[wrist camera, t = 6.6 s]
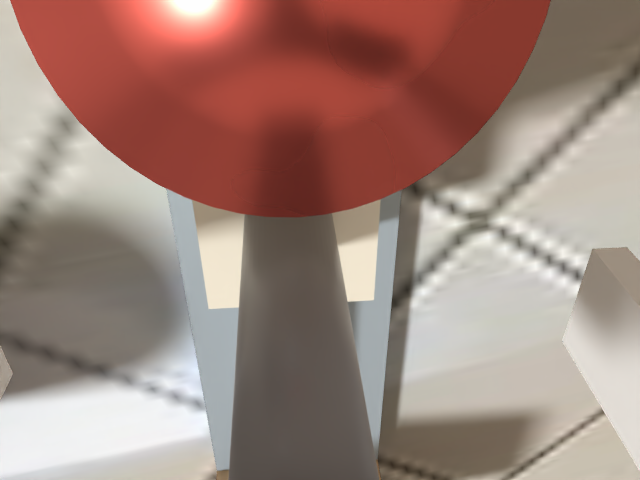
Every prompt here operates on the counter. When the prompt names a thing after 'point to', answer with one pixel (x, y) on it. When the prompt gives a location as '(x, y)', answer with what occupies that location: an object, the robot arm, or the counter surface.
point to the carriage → (294, 338)
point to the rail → (221, 327)
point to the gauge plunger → (282, 90)
